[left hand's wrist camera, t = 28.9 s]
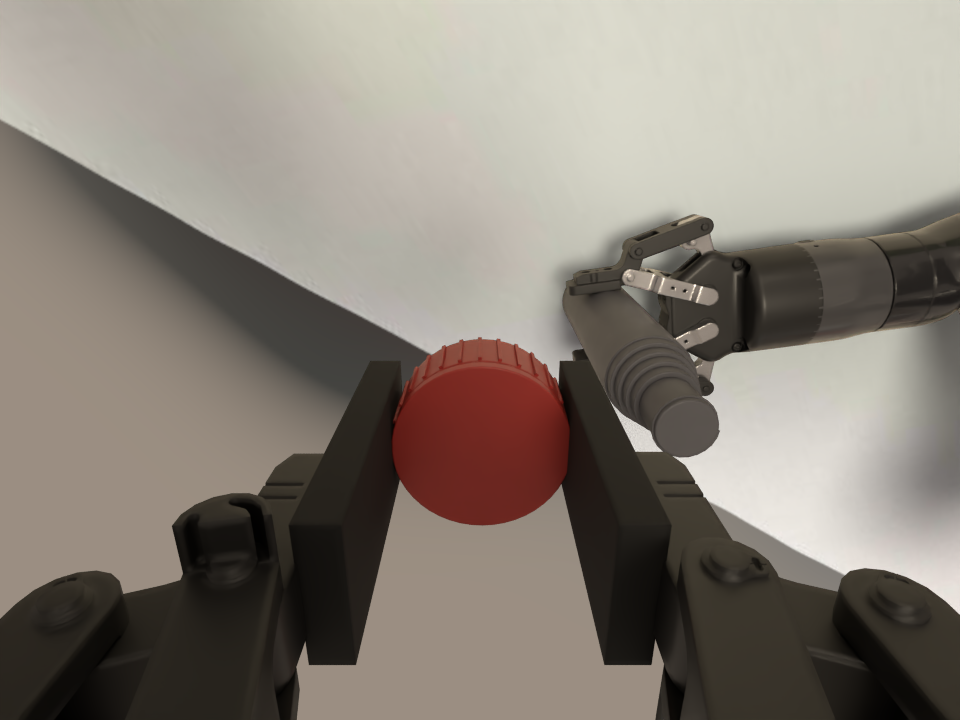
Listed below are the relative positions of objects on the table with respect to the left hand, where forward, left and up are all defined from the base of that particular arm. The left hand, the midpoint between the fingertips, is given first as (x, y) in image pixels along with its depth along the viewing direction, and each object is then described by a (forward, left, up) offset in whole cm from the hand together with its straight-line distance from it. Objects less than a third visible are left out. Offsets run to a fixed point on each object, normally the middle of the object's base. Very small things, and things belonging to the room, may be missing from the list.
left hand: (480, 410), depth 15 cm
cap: (0, 0, +2) cm, 2 cm away
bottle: (+11, 0, -34) cm, 36 cm away
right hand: (+9, -2, -28) cm, 30 cm away
